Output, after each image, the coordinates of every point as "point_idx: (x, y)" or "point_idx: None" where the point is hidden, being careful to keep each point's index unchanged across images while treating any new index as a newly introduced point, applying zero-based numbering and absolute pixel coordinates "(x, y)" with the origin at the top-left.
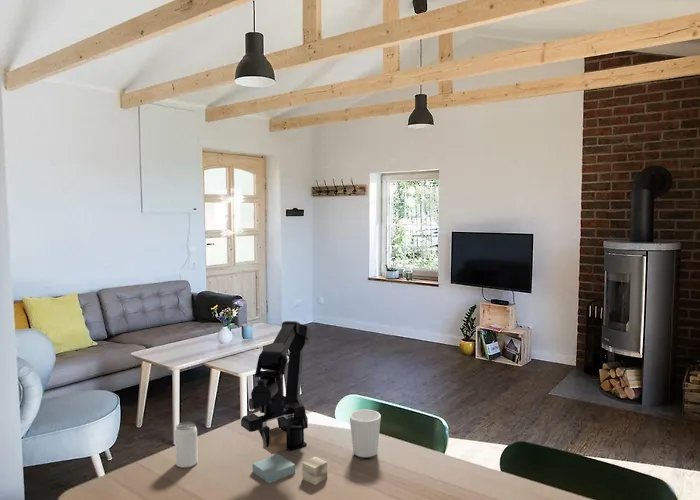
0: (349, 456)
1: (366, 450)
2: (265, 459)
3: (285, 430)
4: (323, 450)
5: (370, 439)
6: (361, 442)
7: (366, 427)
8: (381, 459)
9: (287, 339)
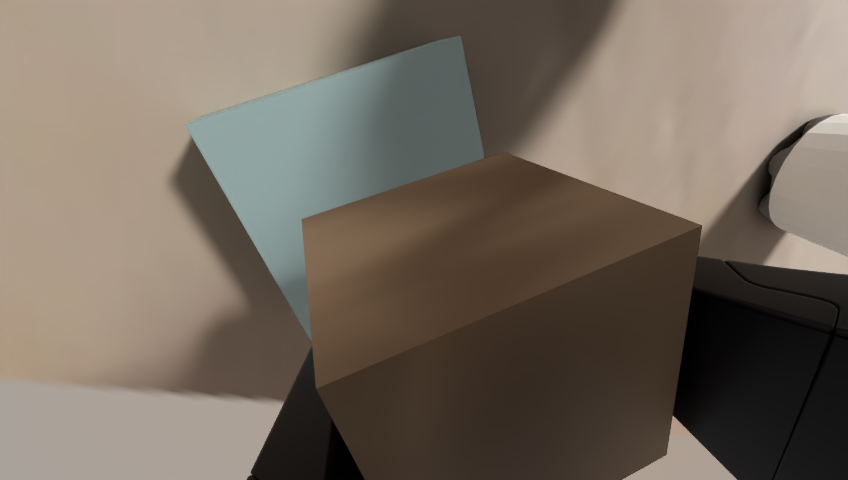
0: (749, 163)
1: (816, 242)
2: (328, 95)
3: (696, 422)
4: (723, 25)
5: None
6: None
7: None
8: (793, 235)
9: None
